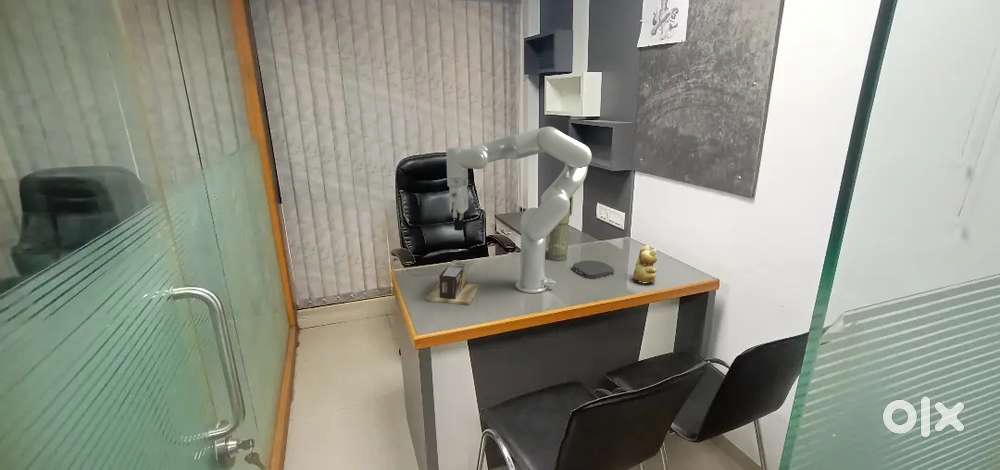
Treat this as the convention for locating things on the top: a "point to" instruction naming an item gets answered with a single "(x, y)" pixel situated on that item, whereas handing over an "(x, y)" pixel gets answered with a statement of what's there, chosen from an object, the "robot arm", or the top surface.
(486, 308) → the top surface
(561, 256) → the thermos
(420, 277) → the top surface
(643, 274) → the decorative figurine
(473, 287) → the board
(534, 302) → the top surface
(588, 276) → the media streaming box
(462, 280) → the coffee box
